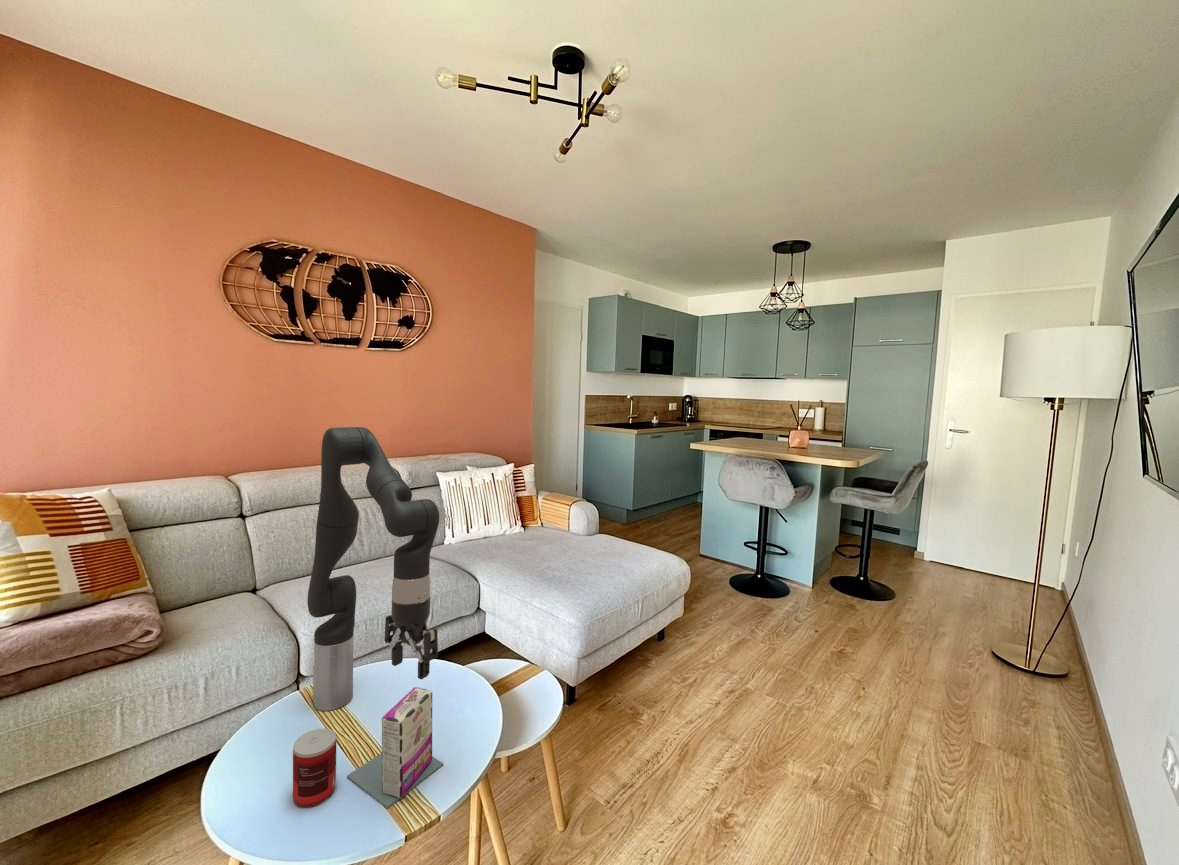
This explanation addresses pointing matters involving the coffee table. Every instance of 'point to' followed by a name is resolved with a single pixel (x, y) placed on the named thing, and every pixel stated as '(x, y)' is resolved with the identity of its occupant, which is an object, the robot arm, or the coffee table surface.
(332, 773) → the canned food
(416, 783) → the mat
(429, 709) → the candy bar box
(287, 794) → the coffee table surface
